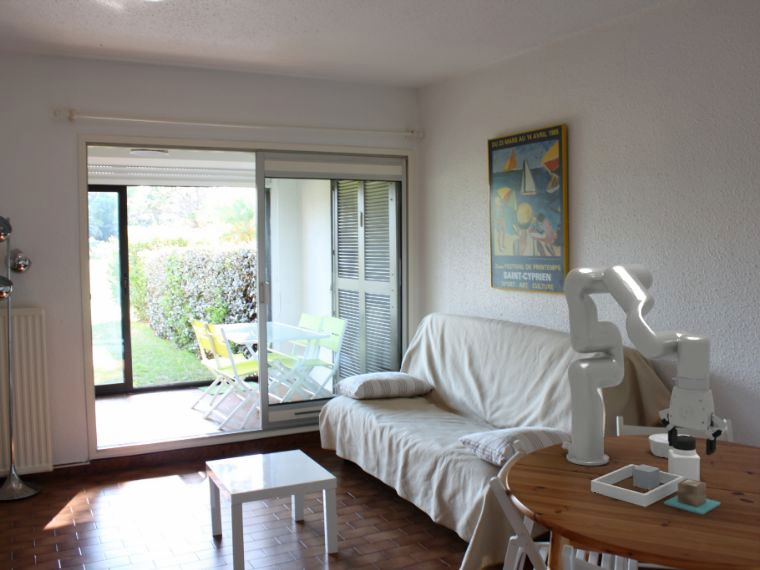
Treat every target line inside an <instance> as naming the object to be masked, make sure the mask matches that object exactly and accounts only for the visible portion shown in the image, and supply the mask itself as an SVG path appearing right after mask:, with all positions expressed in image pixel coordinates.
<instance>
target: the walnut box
mask: <svg viewBox="0 0 760 570" xmlns="http://www.w3.org/2000/svg"><path fill="white" fill-rule="evenodd" d="M677 495H678V502H679V503H683V504H686V505H690V506H694V507H699V506H700V505H702V504H704V503H706V499H707V482H704V481H701V480H700V481H696V480H691V479H685V480H683V481H681V482H679V483H678V491H677Z"/></svg>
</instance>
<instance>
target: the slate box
mask: <svg viewBox="0 0 760 570" xmlns="http://www.w3.org/2000/svg"><path fill="white" fill-rule="evenodd" d="M660 471H661V469H660V468H659V467H655V466H651V465H648V464H643V463H642V464H640V465H637V467H635V468H633V476H632V485H633V487H636V486H637V488H639V489H644V490H647V489H648V491H651V489H652V490H653V489H655V488H657V487H659V486H660V482H659V481H660Z"/></svg>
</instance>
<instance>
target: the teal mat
mask: <svg viewBox="0 0 760 570" xmlns="http://www.w3.org/2000/svg"><path fill="white" fill-rule="evenodd" d="M663 504H664V505H666V506H669V507H673V508H677V509H679V510H685V511H688V512H691V513H695V514H699V515H703V516H704V515H705V514H706V513H708V512H710V511H712V510H713V509H715V508H717V507H719V506H721V505H722V504H721V502H720V501H717V500H712V499H709V498H706V503H704V504H702V505H700V506H699V507H694V506H690V505H686V504H683V503H679V502H678V494H677V495H675V496H674V497H671V498H670V499H667V500H665V501H663Z"/></svg>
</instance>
